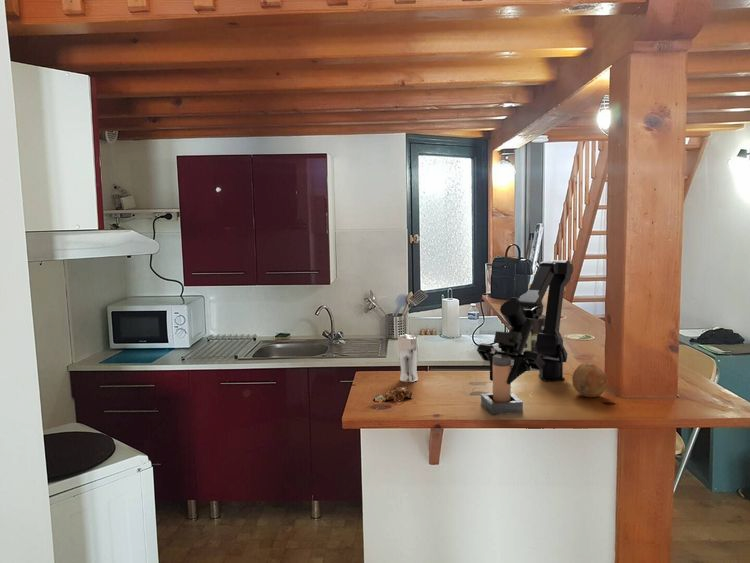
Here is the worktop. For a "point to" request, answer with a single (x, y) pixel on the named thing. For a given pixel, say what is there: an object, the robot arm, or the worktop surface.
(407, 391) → the mottled brown lump
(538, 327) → the coffee can
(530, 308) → the robot arm
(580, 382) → the mottled tan ball
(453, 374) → the worktop surface
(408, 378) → the beer glass
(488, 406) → the collar
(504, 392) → the cylindrical peg
